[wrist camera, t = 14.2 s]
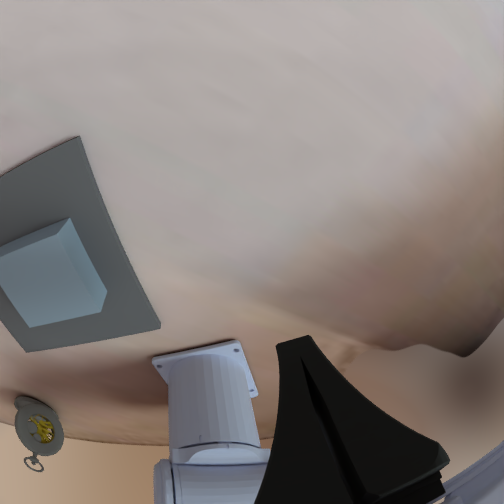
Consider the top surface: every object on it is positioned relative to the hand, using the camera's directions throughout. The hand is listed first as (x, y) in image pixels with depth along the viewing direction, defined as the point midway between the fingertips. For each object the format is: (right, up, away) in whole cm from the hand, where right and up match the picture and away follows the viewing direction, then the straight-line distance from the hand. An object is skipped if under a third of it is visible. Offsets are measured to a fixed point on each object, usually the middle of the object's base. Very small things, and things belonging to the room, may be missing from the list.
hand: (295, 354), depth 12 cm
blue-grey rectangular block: (-19, +1, +5) cm, 20 cm away
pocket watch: (-29, -16, +16) cm, 36 cm away
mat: (-18, +3, +7) cm, 19 cm away
